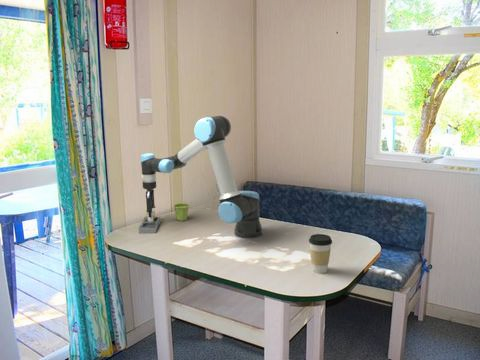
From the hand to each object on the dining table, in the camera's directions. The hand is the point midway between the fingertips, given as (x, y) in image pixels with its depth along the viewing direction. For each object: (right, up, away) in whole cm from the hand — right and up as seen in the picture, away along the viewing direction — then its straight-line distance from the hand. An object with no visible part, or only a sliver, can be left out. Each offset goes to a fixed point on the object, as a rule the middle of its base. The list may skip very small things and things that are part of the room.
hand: (151, 220), depth 261 cm
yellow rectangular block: (0, -2, 0) cm, 2 cm away
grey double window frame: (0, -3, -4) cm, 5 cm away
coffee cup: (+85, -16, -65) cm, 108 cm away
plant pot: (+16, 0, +9) cm, 19 cm away
